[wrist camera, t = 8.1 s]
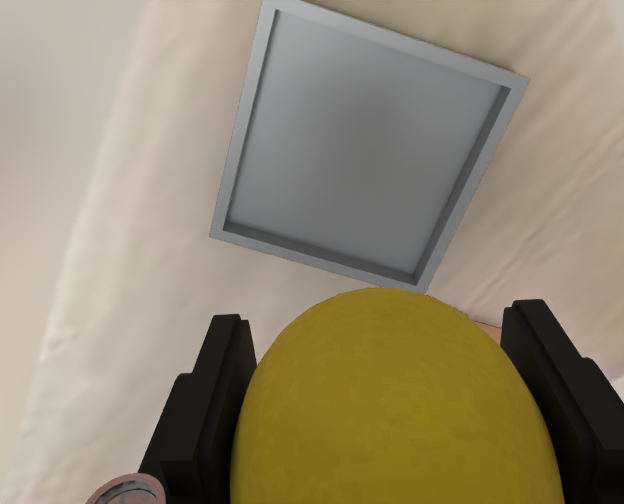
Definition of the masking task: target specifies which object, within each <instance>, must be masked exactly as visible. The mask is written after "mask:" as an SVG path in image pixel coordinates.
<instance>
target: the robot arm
mask: <svg viewBox="0 0 624 504" xmlns="http://www.w3.org/2000/svg"><path fill="white" fill-rule="evenodd" d="M500 347H501V348H502V350H503V351H504V352H505V353H506V354H507V356H508V357H509V359H510V360H511V362H512V363H513V365H514V366H515V368H516V369H517V371H518V373H519V374H520V376H521V378H522V379H523V381H524V382H525V384H526V386H527V387H528V389H529V391H530V392H531V394H532V396H533V397H534V399H535V401H536V403H537V405H538V407H539V409H540V411H541V413H542V416H543V418H544V421H545V423H546V425H547V428H548V431H549V434H550V437H551V441H552V444H553V447H554V451H555V455H556V459H557V464H558V468H559V473H560V478H561V484H562V490H563V495H564V501H565V504H624V403H623V401H622V400H621V399H620V397H619V396H618V394H617V393H616V391H615V390H614V388H613V387H612V386H611V384H610V383H609V381H608V380H607V378H606V377H605V376H604V374H603V373H602V371H601V370H600V368H599V367H598V365H597V364H596V363H595V362H594V361H593V360H592V359H590V358H588V357H586V358H582V357H581V355H580V354H579V352H578V351H577V349H576V348H575V346H574V345H573V343H572V342H571V340H570V339H569V337H568V336H567V334H566V333H565V331H564V330H563V328H562V327H561V325H560V324H559V322H558V321H557V319H556V318H555V316H554V315H553V313H552V312H551V310H550V309H549V307H548V306H547V304H546V303H545V302H544V301H543V300H542V299H532V300H515V301H514V302H513V304H512V307H506V308H505V309H504V313H503V322H502V331H501V340H500ZM256 368H257V363H256V357H255V352H254V346H253V341H252V335H251V330H250V325H249V321H248V320H241V317H240V315H239V314H225V315H214V316H213V318H212V321H211V323H210V326H209V329H208V331H207V334H206V337H205V339H204V342H203V345H202V347H201V350H200V353H199V355H198V358H197V361H196V363H195V366H194V369H193V371H192V373H181V374H180V375H178V377H177V379H176V380H175V382H174V385H173V387H172V390H171V392H170V395H169V397H168V399H167V402H166V404H165V407H164V409H163V412H162V414H161V417H160V419H159V421H158V424H157V426H156V429H155V431H154V434H153V436H152V438H151V441H150V443H149V446H148V448H147V451H146V453H145V455H144V458H143V460H142V463H141V465H140V468H139V470H138V472H137V473H133V474H127V475H123V476H120V477H118V478H116V479H113V480H111V481H109V482H108V483H106V484H105V485H103V486H102V487H100V488H99V489H98V490H97V491H96V492H95V493H94V494H93V495H92V496H91V497H90V498H89V499H88V500H87V502H86V504H230V463H231V450H232V444H233V438H234V433H235V429H236V425H237V421H238V417H239V414H240V411H241V408H242V404H243V401H244V398H245V395H246V392H247V389H248V386H249V383H250V381H251V378H252V376H253V374H254V372H255V370H256Z"/></svg>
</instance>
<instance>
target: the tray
mask: <svg viewBox="0 0 624 504" xmlns="http://www.w3.org/2000/svg"><path fill="white" fill-rule="evenodd" d="M529 82H530V79H529V78H527V77H524V76H522V75H520V74H518V73H516V72H513V71H510V70H507V69H505V68H502V67H499V66H496V65H493V64H490V63H487V62H484V61H481V60H478V59H475V58H472V57H469V56H467V55H464V54H461V53H458V52H455V51H452V50H449V49H446V48H443V47H440V46H437V45H434V44H431V43H429V42H426V41H423V40H420V39H417V38H414V37H411V36H408V35H405V34H402V33H399V32H396V31H393V30H390V29H388V28H385V27H382V26H379V25H376V24H373V23H370V22H367V21H364V20H361V19H358V18H355V17H352V16H350V15H347V14H344V13H341V12H338V11H335V10H332V9H329V8H326V7H323V6H320V5H317V4H314V3H312V2H309V1H306V0H263V1H262V5H261V10H260V14H259V18H258V23H257V27H256V32H255V36H254V40H253V45H252V49H251V54H250V58H249V62H248V67H247V71H246V76H245V80H244V84H243V89H242V93H241V98H240V102H239V106H238V111H237V115H236V120H235V124H234V128H233V133H232V137H231V142H230V146H229V150H228V155H227V159H226V163H225V168H224V172H223V177H222V181H221V185H220V190H219V194H218V199H217V203H216V207H215V212H214V216H213V221H212V225H211V229H210V234H209V237H211V238H214V239H218V240H221V241H225V242H228V243H232V244H235V245H239V246H242V247H246V248H249V249H253V250H256V251H260V252H263V253H267V254H270V255H274V256H277V257H281V258H284V259H288V260H291V261H295V262H298V263H302V264H305V265H309V266H312V267H316V268H319V269H323V270H326V271H330V272H333V273H337V274H340V275H344V276H347V277H351V278H354V279H358V280H361V281H365V282H368V283H372V284H375V285H379V286H382V287H386V288H397V289H402V290H406V291H411V292H416V293H420V294H425V292H426V290H427V288H428V286H429V284H430V282H431V279H432V277H433V275H434V273H435V271H436V269H437V267H438V265H439V263H440V261H441V259H442V257H443V255H444V253H445V251H446V249H447V247H448V245H449V243H450V241H451V239H452V237H453V235H454V233H455V231H456V229H457V227H458V225H459V223H460V221H461V219H462V217H463V215H464V213H465V211H466V209H467V207H468V205H469V203H470V201H471V199H472V197H473V195H474V193H475V191H476V189H477V187H478V185H479V183H480V180H481V178H482V176H483V174H484V172H485V170H486V168H487V166H488V164H489V162H490V160H491V158H492V156H493V154H494V152H495V150H496V148H497V146H498V144H499V142H500V140H501V138H502V136H503V134H504V132H505V130H506V128H507V126H508V124H509V122H510V120H511V118H512V116H513V114H514V112H515V110H516V108H517V106H518V104H519V102H520V100H521V98H522V96H523V94H524V92H525V90H526V88H527V86H528V84H529Z"/></svg>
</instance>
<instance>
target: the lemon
mask: <svg viewBox="0 0 624 504" xmlns="http://www.w3.org/2000/svg"><path fill="white" fill-rule="evenodd" d="M230 504H565V501H564V495H563V490H562V484H561V478H560V473H559V468H558V464H557V459H556V455H555V451H554V447H553V444H552V441H551V437H550V434H549V431H548V428H547V425H546V423H545V421H544V418H543V416H542V413H541V411H540V409H539V407H538V405H537V403H536V401H535V399H534V397H533V396H532V394H531V392H530V391H529V389H528V387H527V386H526V384H525V382H524V381H523V379H522V378H521V376H520V374H519V373H518V371H517V369H516V368H515V366H514V365H513V363H512V362H511V360H510V359H509V357H508V356H507V354H506V353H505V352H504V351H503V350H502V348H501V347H500V346H499V345H498V343H496V342H495V341H494V340H493V339H492V338H491V337H490V336H489V335H488V334H487V333H486V332H485V331H483V330H482V329H481V328H480V327H479V326H478V325H477V324H475V323H474V322H473V321H472V320H471V319H470V318H469V317H467V316H466V315H465V314H463V313H462V312H460V311H459V310H457V309H455V308H453V307H451V306H449V305H447V304H445V303H443V302H441V301H439V300H437V299H435V298H433V297H431V296H428V295H424V294H420V293H416V292H411V291H406V290H402V289H397V288H365V289H361V290H356V291H351V292H346V293H342V294H338V295H336V296H334V297H332V298H330V299H328V300H326V301H323V302H321V303H319V304H317V305H315V306H313V307H311V308H309V309H308V310H307V311H306V312H304V313H303V314H302V315H301V316H299V317H298V318H297V319H296V320H294V321H293V322H292V323H290V324H289V325H288V326H287V327H286V328H285V329H284V330H283V331H282V332H281V333H280V334H279V336H278V337H277V339H276V340H275V341H274V343H273V344H272V345H271V347H270V348H269V350H268V351H267V352H266V354H265V355H264V357H263V358H262V360H261V361H260V363H259V364H258V366H257V368H256V370H255V372H254V374H253V376H252V378H251V381H250V383H249V386H248V389H247V392H246V395H245V398H244V401H243V404H242V408H241V411H240V414H239V417H238V421H237V425H236V429H235V433H234V438H233V444H232V450H231V463H230Z"/></svg>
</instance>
